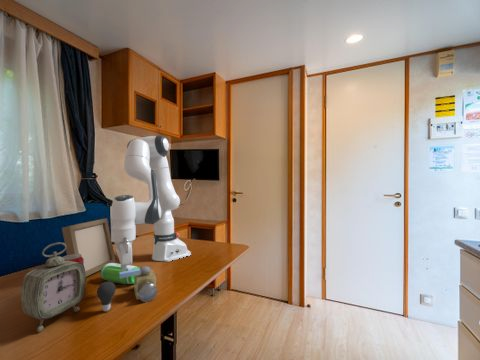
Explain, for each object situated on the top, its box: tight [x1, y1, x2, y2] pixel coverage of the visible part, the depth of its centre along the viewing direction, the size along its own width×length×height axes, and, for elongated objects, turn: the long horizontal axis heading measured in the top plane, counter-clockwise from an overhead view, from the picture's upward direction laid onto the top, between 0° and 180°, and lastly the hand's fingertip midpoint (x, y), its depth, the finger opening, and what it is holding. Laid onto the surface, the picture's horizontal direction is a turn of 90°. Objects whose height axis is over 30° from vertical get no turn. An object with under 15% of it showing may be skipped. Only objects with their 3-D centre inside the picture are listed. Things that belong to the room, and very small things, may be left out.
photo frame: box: [61, 217, 117, 278], centre depth 112 cm, size 15×22×25 cm
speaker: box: [99, 262, 140, 285], centre depth 100 cm, size 18×7×8 cm, turn 72°
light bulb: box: [96, 281, 117, 312], centre depth 77 cm, size 6×6×10 cm
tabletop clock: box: [20, 241, 87, 333], centre depth 73 cm, size 14×9×25 cm, turn 160°
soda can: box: [61, 254, 84, 265], centre depth 90 cm, size 8×8×15 cm
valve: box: [133, 268, 158, 303], centre depth 89 cm, size 7×14×8 cm, turn 32°
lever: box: [119, 265, 151, 278], centre depth 87 cm, size 11×4×2 cm, turn 122°
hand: (123, 269), depth 90 cm, fingers closed
